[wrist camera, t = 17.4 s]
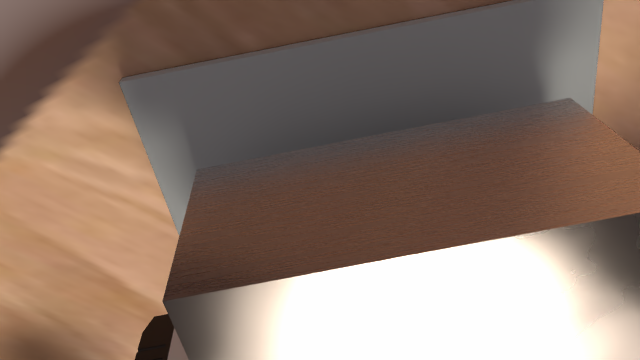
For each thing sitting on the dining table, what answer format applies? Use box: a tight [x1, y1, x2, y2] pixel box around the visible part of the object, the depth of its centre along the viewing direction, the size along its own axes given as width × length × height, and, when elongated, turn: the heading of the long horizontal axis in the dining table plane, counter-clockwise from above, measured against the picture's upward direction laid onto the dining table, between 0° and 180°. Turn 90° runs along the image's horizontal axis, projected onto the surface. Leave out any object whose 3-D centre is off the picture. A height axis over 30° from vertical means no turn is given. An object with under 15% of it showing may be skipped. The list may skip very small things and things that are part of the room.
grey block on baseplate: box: [163, 98, 640, 360], centre depth 14 cm, size 10×7×5 cm
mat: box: [119, 0, 604, 236], centre depth 18 cm, size 14×11×1 cm
